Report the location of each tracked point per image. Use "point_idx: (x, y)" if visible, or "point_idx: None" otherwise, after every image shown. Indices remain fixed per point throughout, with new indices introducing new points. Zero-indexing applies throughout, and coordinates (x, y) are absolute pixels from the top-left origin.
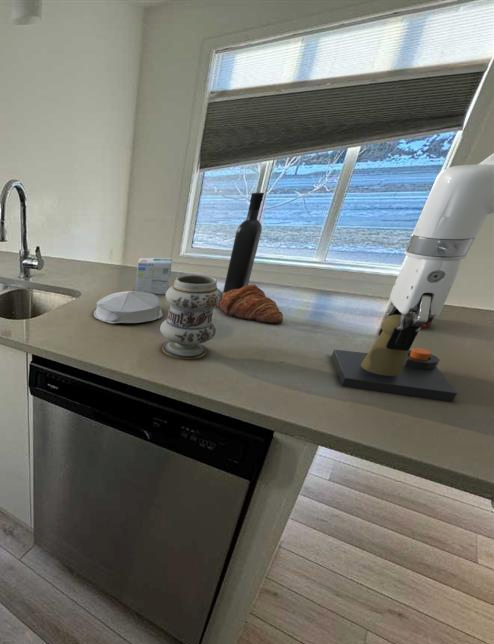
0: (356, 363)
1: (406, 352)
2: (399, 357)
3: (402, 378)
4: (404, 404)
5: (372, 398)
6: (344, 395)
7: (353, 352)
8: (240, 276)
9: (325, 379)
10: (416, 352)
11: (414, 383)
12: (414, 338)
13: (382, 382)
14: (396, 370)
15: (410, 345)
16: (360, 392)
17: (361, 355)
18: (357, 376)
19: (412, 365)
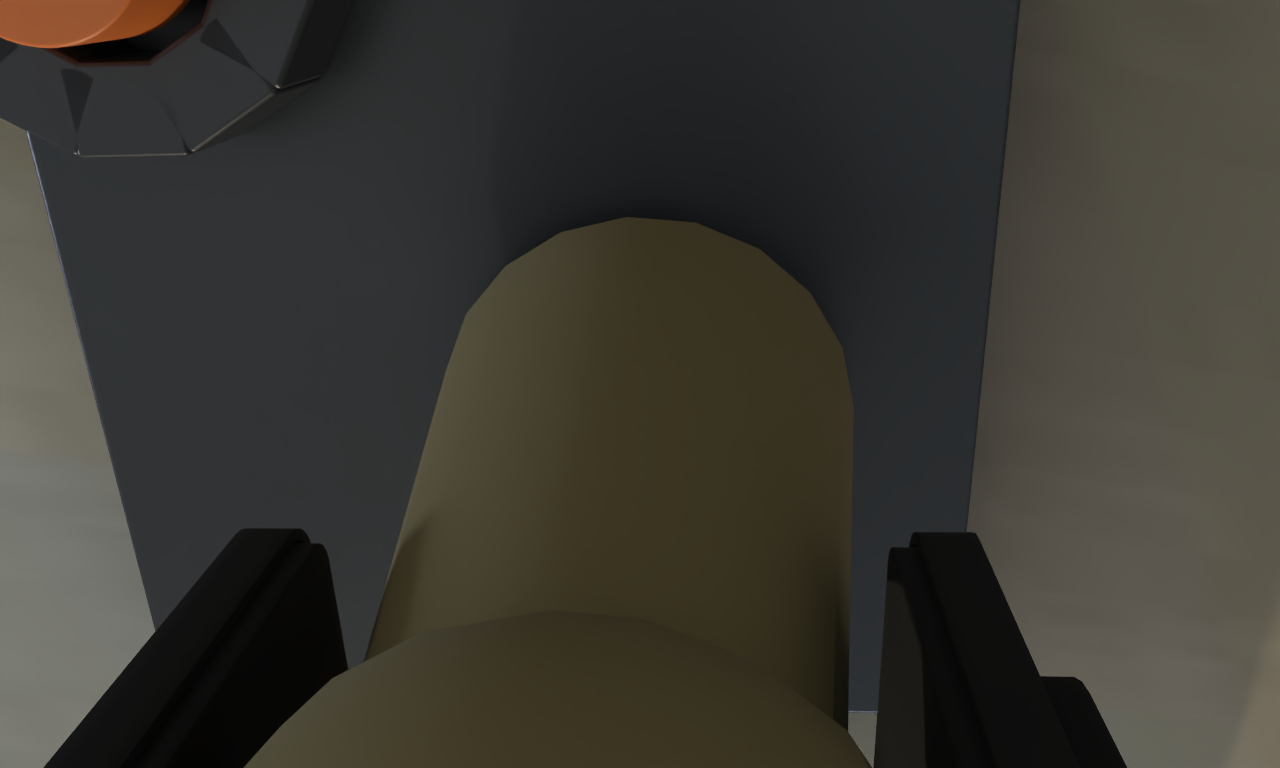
0: None
1: (696, 390)
2: (824, 459)
3: (773, 192)
4: (1215, 191)
5: (1140, 449)
6: (1134, 653)
7: (165, 546)
8: None
9: None
10: (126, 10)
11: (883, 86)
12: (1054, 716)
13: (967, 419)
14: (822, 340)
15: (1007, 604)
16: (1025, 523)
17: (218, 486)
18: (875, 614)
19: (338, 15)
